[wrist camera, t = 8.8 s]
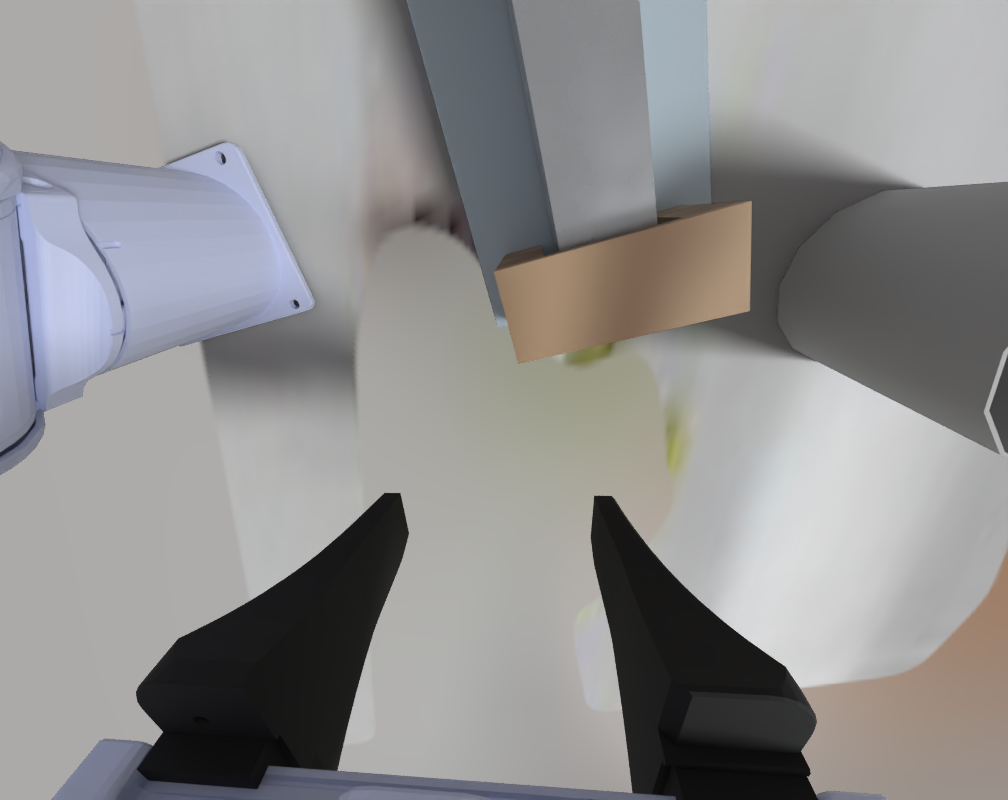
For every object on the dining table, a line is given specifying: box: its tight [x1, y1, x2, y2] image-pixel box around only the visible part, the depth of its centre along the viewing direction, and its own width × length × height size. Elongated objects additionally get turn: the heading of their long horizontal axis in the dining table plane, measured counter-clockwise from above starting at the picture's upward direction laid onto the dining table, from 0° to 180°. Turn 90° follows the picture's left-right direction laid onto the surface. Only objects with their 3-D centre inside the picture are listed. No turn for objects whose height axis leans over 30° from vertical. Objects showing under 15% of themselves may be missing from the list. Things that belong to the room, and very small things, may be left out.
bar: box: [506, 0, 658, 253], centre depth 13 cm, size 4×17×5 cm, turn 15°
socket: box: [494, 201, 752, 363], centre depth 16 cm, size 8×4×6 cm, turn 105°
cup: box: [777, 182, 1008, 458], centre depth 14 cm, size 8×8×10 cm
